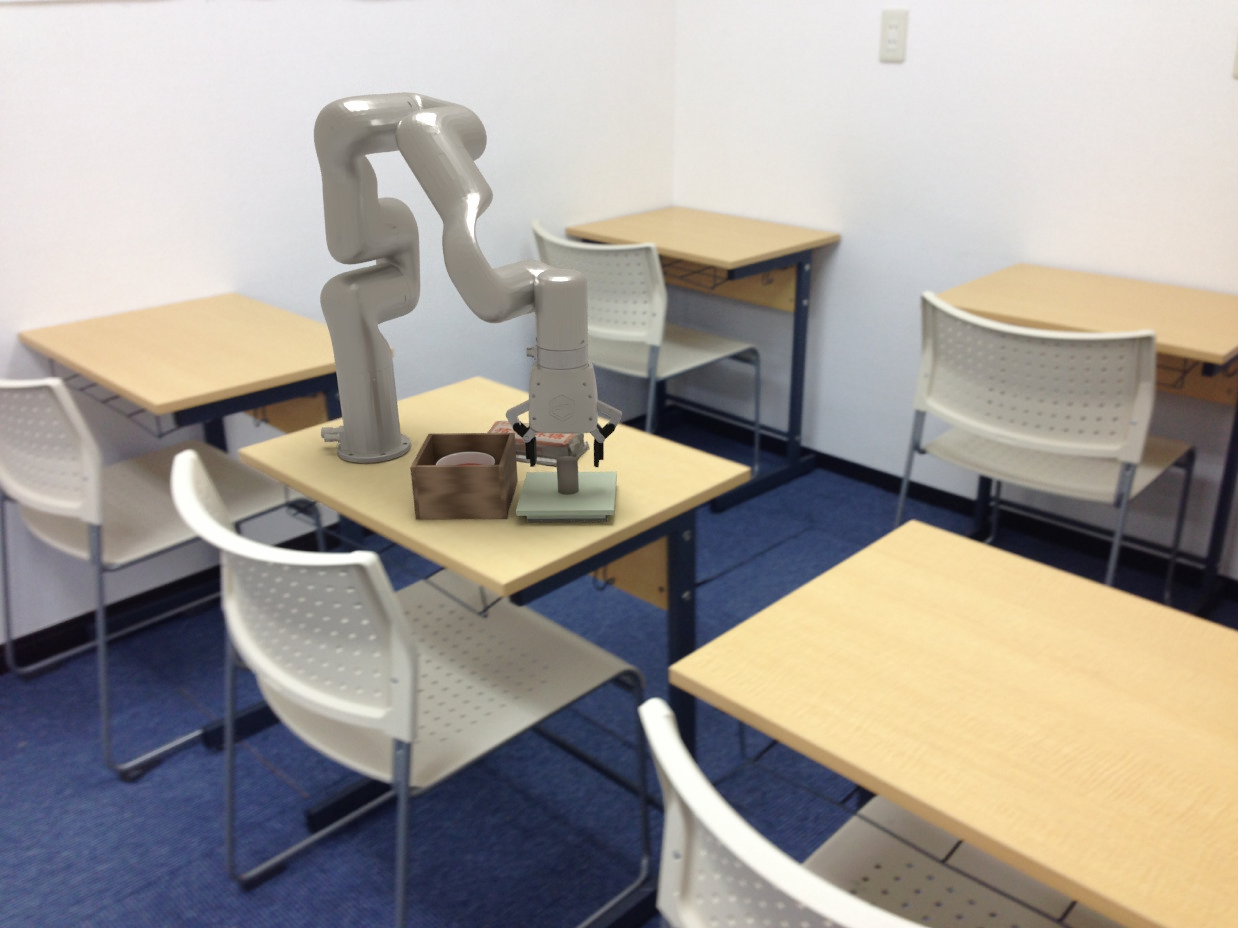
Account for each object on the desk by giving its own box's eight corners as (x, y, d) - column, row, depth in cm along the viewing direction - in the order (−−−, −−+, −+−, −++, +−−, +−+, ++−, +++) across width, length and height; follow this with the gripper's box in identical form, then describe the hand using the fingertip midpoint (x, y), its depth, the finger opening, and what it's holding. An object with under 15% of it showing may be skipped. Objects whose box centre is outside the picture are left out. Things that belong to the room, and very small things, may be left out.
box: (415, 519, 157) (410, 467, 153) (433, 482, 169) (428, 433, 166) (506, 518, 156) (503, 466, 153) (517, 481, 169) (514, 432, 166)
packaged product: (590, 423, 181) (567, 444, 172) (591, 449, 182) (568, 471, 174) (497, 413, 187) (470, 432, 178) (499, 438, 188) (472, 458, 180)
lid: (516, 522, 154) (513, 479, 151) (527, 483, 167) (525, 443, 164) (614, 522, 153) (612, 478, 151) (617, 482, 167) (616, 442, 164)
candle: (467, 517, 157) (464, 479, 155) (427, 502, 162) (423, 465, 160) (509, 497, 163) (506, 460, 161) (469, 483, 169) (466, 447, 166)
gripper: (499, 363, 148) (505, 473, 155) (621, 364, 148) (621, 474, 154) (506, 347, 155) (511, 453, 162) (622, 348, 154) (622, 454, 161)
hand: (565, 463), depth 158 cm, fingers open, 9 cm apart
